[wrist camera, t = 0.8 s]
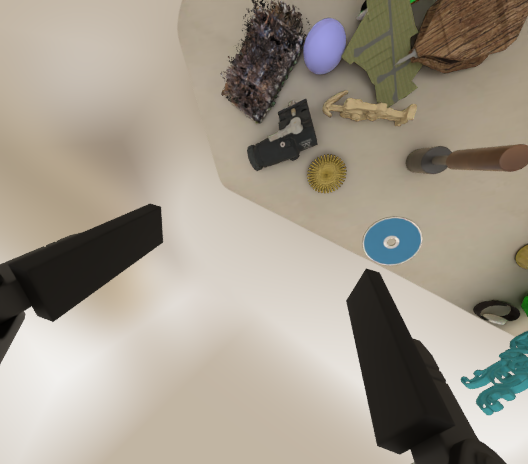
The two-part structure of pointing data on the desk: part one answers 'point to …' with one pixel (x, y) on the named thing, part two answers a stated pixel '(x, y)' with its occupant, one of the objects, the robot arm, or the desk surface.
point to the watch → (496, 319)
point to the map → (385, 48)
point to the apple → (525, 305)
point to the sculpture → (326, 173)
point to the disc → (392, 228)
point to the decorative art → (511, 384)
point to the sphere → (324, 46)
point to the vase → (522, 257)
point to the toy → (367, 110)
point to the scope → (285, 137)
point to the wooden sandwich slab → (466, 32)
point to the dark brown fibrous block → (264, 59)
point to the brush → (468, 159)
